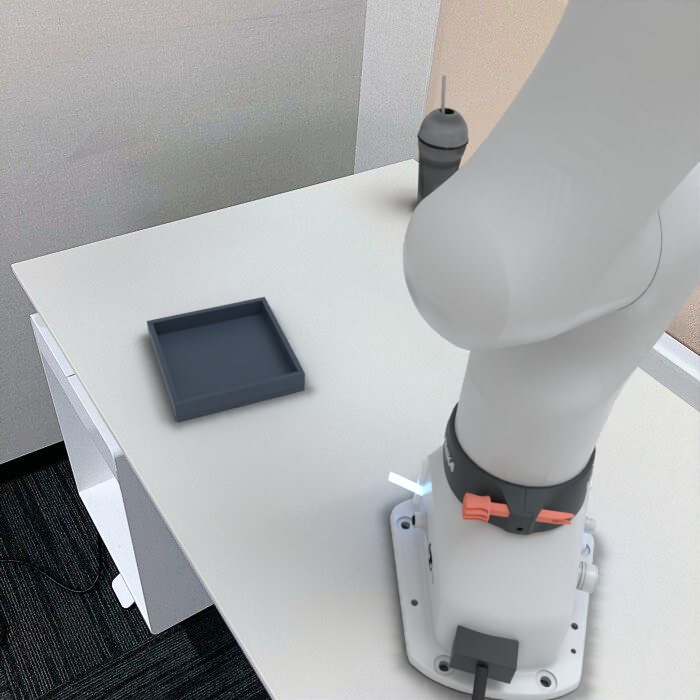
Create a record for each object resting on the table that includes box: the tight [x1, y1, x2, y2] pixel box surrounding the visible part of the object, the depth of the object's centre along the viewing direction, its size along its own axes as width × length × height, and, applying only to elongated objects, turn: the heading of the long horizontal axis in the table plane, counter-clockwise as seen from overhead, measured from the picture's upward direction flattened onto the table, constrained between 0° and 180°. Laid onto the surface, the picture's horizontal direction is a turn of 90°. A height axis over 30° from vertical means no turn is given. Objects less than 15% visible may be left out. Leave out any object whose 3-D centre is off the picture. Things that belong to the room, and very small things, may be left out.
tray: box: [146, 296, 306, 423], centre depth 83 cm, size 14×14×3 cm
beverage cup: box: [416, 75, 469, 205], centre depth 105 cm, size 7×7×20 cm
